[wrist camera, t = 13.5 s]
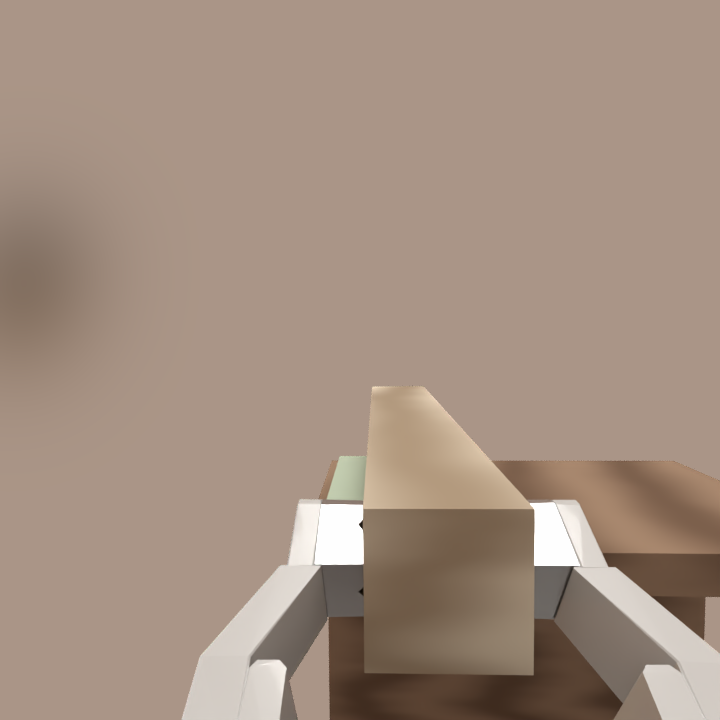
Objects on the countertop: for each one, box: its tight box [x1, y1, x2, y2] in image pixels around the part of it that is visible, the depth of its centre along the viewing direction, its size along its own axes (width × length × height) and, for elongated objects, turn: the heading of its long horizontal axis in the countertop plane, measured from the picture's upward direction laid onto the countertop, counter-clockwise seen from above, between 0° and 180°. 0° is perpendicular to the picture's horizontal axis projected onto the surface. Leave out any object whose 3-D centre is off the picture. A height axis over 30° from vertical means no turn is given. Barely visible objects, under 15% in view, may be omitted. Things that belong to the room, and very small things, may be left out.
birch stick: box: [363, 386, 535, 675], centre depth 18 cm, size 3×20×3 cm, turn 178°
